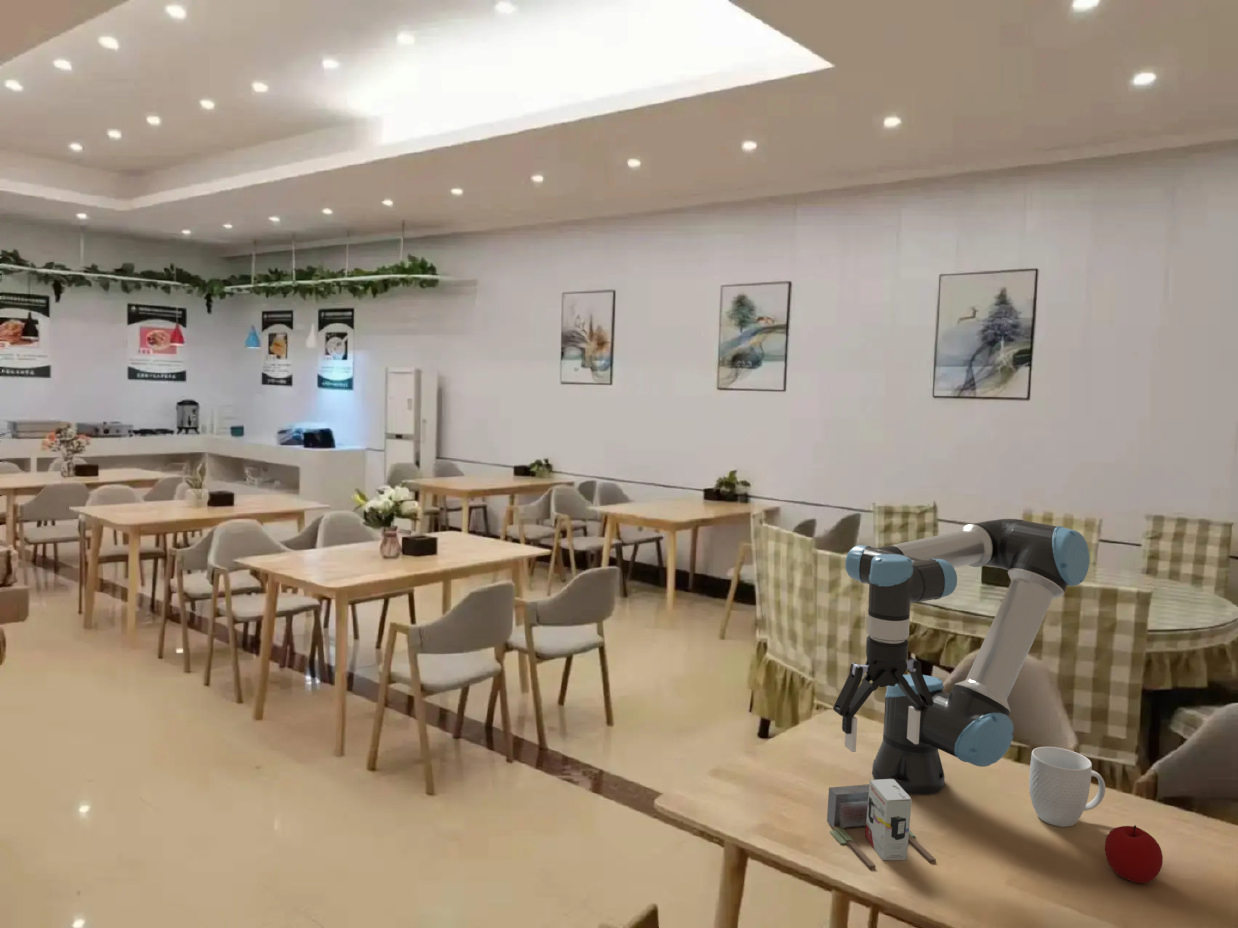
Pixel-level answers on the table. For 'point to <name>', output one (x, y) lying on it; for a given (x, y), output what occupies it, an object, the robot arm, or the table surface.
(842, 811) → the grey block
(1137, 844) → the apple
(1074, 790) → the mug
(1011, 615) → the robot arm
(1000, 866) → the table surface
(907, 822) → the ink box
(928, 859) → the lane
